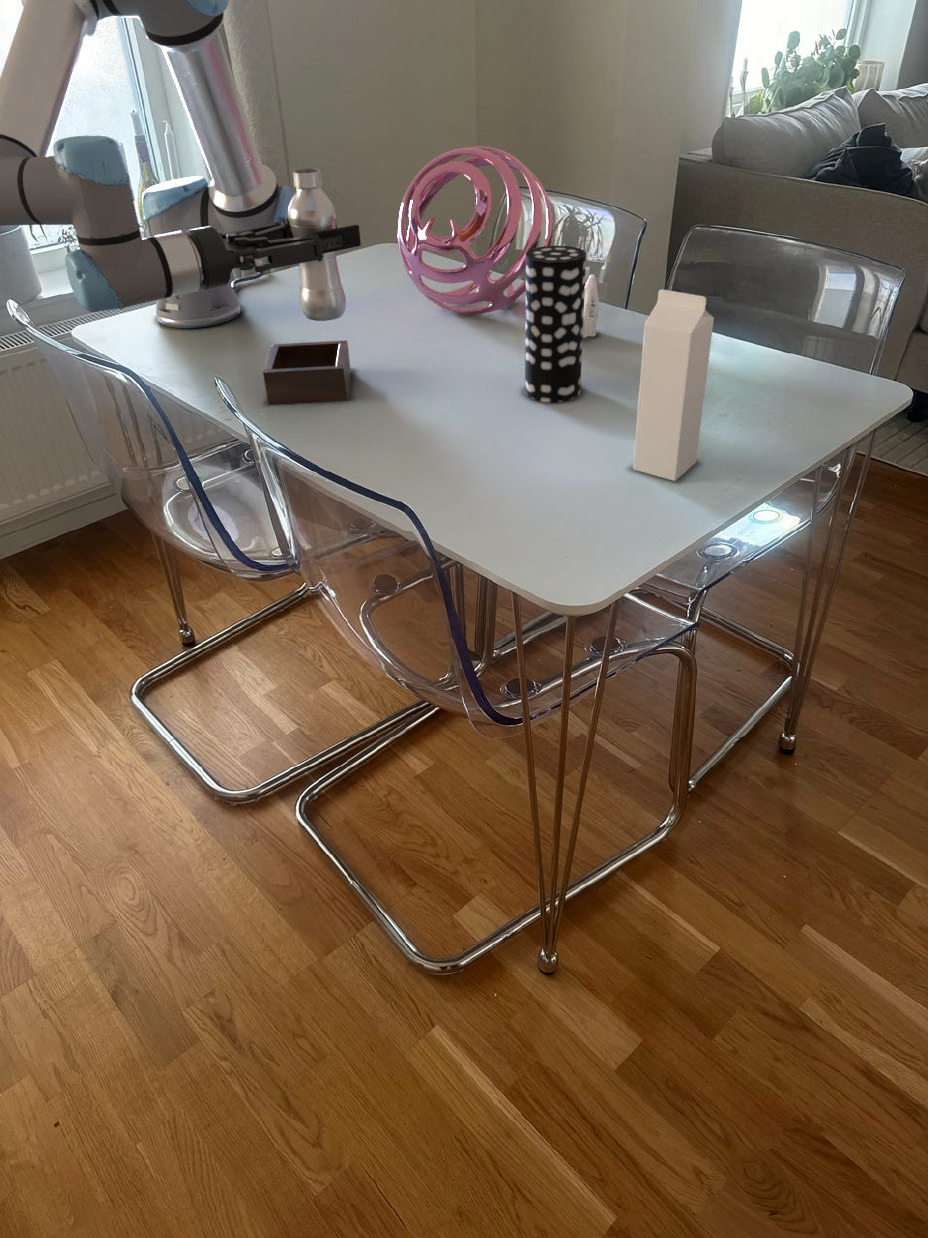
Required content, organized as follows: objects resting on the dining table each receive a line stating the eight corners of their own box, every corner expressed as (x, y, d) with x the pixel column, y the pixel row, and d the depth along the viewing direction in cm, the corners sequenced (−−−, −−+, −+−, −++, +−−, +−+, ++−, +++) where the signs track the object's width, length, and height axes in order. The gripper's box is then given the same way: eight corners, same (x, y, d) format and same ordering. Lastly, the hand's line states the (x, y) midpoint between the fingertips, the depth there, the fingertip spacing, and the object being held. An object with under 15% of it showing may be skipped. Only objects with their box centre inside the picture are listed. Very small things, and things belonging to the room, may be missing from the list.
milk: (654, 452, 121) (670, 281, 108) (696, 463, 118) (718, 289, 105) (632, 470, 118) (645, 295, 105) (675, 482, 114) (695, 303, 101)
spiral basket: (478, 165, 179) (417, 92, 154) (599, 217, 170) (555, 149, 145) (412, 299, 185) (344, 249, 160) (526, 356, 176) (472, 314, 151)
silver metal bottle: (339, 327, 132) (322, 175, 120) (295, 325, 134) (274, 175, 122) (353, 312, 137) (338, 165, 125) (310, 310, 139) (291, 165, 127)
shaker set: (556, 353, 151) (558, 284, 145) (538, 347, 154) (539, 279, 147) (604, 334, 158) (607, 267, 151) (585, 328, 160) (588, 263, 153)
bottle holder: (276, 374, 148) (271, 344, 145) (350, 370, 148) (347, 340, 145) (268, 404, 138) (262, 372, 136) (347, 400, 139) (343, 368, 136)
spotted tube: (585, 383, 141) (592, 247, 129) (573, 405, 134) (578, 263, 122) (533, 378, 143) (534, 244, 131) (518, 399, 137) (518, 260, 125)
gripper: (173, 274, 130) (319, 244, 140) (226, 307, 117) (383, 272, 127) (160, 217, 125) (312, 191, 135) (214, 245, 112) (378, 214, 122)
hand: (346, 230), depth 131 cm, fingers closed on silver metal bottle, 6 cm apart
